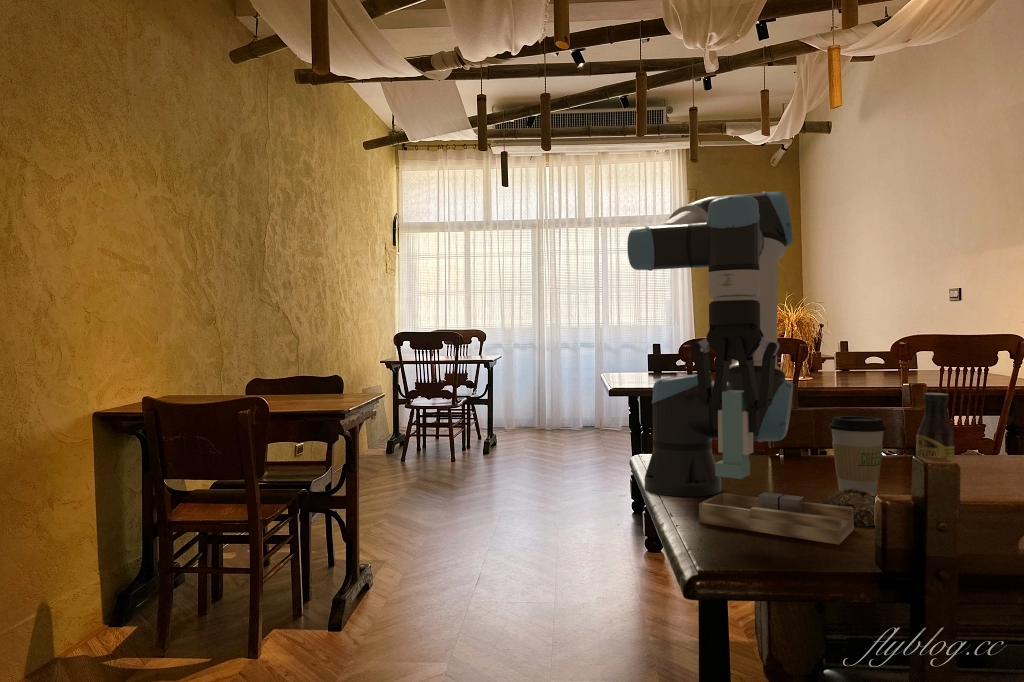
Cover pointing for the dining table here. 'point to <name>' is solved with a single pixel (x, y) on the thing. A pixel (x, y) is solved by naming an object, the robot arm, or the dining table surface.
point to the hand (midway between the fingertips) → (735, 451)
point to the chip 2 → (792, 504)
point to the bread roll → (855, 504)
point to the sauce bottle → (935, 428)
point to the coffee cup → (857, 451)
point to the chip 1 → (770, 500)
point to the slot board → (779, 518)
